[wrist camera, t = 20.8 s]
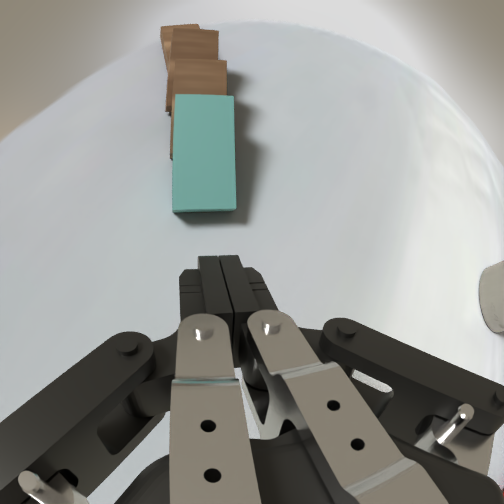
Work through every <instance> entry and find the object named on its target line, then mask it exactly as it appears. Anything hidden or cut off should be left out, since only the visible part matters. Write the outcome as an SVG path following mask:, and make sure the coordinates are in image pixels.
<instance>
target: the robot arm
mask: <svg viewBox="0 0 504 504" xmlns="http://www.w3.org/2000/svg"><path fill="white" fill-rule="evenodd" d="M179 290H180V317H181V322H180V324H179V327H178V329H177V331H176V332H175V333H173V334H172V335H171V336H169V337H167V338H164V339H161V340H157V341H154V342H152V341H151V340H150V339H149V338H148V337H147V336H146V335H144V334H142V333H138V332H122V333H118V334H116V335H114V336H112V337H111V338H109V339H108V340H107V341H105V342H104V343H103V344H101V345H100V346H99V347H97V348H96V349H95V350H93V351H92V352H91V353H89V354H88V355H87V356H85V357H84V358H83V359H81V360H80V361H79V362H78V363H76V364H75V365H74V366H72V367H71V368H70V369H68V370H67V371H66V372H65V373H63V374H62V375H61V376H59V377H58V378H57V379H55V380H54V381H53V382H52V383H50V384H49V385H48V386H46V387H45V388H44V389H43V390H41V391H40V392H39V393H37V394H36V395H35V396H34V397H32V398H31V399H30V400H28V401H27V402H26V403H25V404H23V405H22V406H21V407H20V408H18V409H17V410H16V411H14V412H13V413H12V414H11V415H9V416H8V417H7V418H6V419H4V420H3V421H2V422H1V423H0V504H89V502H88V500H87V497H88V496H89V495H90V494H91V493H92V492H93V491H94V490H95V489H96V488H97V487H98V486H99V485H100V484H101V483H102V482H103V481H104V480H105V479H106V478H107V477H108V476H109V475H110V474H111V473H112V472H113V471H114V470H115V469H116V468H117V467H118V466H119V465H120V464H121V463H122V461H123V460H124V459H125V458H126V457H127V456H128V455H129V454H130V453H131V452H132V451H133V450H134V449H135V448H136V447H137V446H138V445H139V444H140V443H141V441H142V440H143V439H144V438H145V437H146V436H147V435H148V434H149V433H150V432H151V431H152V430H153V429H154V427H155V426H156V425H157V424H158V423H159V422H160V421H161V420H162V419H163V417H164V415H165V413H166V412H167V411H170V446H169V454H168V455H166V456H164V457H162V458H160V459H158V460H156V461H155V462H153V463H152V464H150V465H149V466H148V467H146V468H145V469H144V470H143V471H142V472H141V473H140V474H139V475H138V476H137V477H136V479H135V480H134V481H133V482H132V483H131V485H130V486H129V487H128V488H127V489H126V490H125V492H124V493H123V494H122V495H121V496H120V497H119V499H118V500H117V501H116V502H115V503H114V504H504V496H503V493H502V491H501V489H500V487H499V486H498V485H497V483H496V482H495V481H494V480H493V479H491V478H490V477H488V476H487V474H488V469H489V464H490V459H491V453H492V447H493V440H494V434H495V432H496V431H497V430H498V429H499V428H500V427H501V426H502V425H503V424H504V386H503V385H501V384H498V383H496V382H494V381H491V380H489V379H486V378H484V377H482V376H479V375H477V374H474V373H472V372H470V371H467V370H465V369H463V368H460V367H458V366H456V365H453V364H451V363H449V362H446V361H444V360H442V359H439V358H437V357H435V356H432V355H430V354H428V353H425V352H423V351H421V350H419V349H416V348H414V347H412V346H409V345H407V344H405V343H403V342H400V341H398V340H396V339H394V338H391V337H389V336H387V335H385V334H382V333H380V332H378V331H376V330H373V329H371V328H369V327H367V326H365V325H362V324H360V323H358V322H356V321H353V320H351V319H347V318H333V319H330V320H328V321H327V322H326V323H325V324H324V327H323V330H314V329H305V328H300V327H297V325H296V324H295V322H294V320H293V319H292V318H291V317H290V316H288V315H287V314H285V313H283V312H280V311H279V310H278V308H277V306H276V304H275V302H274V300H273V298H272V296H271V294H270V292H269V290H268V288H267V286H266V284H265V282H264V280H263V278H262V276H261V274H260V273H259V272H257V271H256V270H255V269H254V268H252V267H247V268H243V266H242V264H241V261H240V259H239V256H238V255H223V256H198V269H186V270H184V271H183V272H182V274H181V275H180V277H179ZM479 297H480V305H481V310H482V313H483V317H484V319H485V322H486V323H487V325H488V327H489V328H490V329H491V330H492V331H493V332H496V333H499V332H503V331H504V261H501V262H499V263H497V264H495V265H492V266H490V267H488V268H486V269H485V270H484V271H483V273H482V275H481V279H480V285H479ZM239 367H241V370H242V388H243V391H244V393H245V396H246V399H247V401H248V404H249V407H250V409H251V412H252V414H253V417H254V420H255V422H256V425H257V427H258V430H259V434H260V439H249V435H248V429H247V423H246V417H245V411H244V405H243V399H242V393H241V387H240V382H239V379H236V378H235V372H234V368H239ZM355 369H356V370H358V371H360V372H362V373H364V374H366V375H368V376H370V377H372V378H374V379H376V380H379V381H381V382H383V383H385V384H387V385H389V386H390V387H391V388H392V391H391V392H387V393H385V392H381V391H379V390H377V389H375V388H373V387H370V386H368V385H366V384H364V383H362V382H360V381H358V380H356V379H354V378H352V374H353V372H354V370H355Z"/></svg>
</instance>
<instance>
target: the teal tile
mask: <svg viewBox="0 0 504 504" xmlns="http://www.w3.org/2000/svg"><path fill="white" fill-rule="evenodd" d="M172 209H173V213H175V212H213V211H233V210H235V209H236V176H235V135H234V96H226V95H201V94H175V111H174V132H173V170H172Z"/></svg>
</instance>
